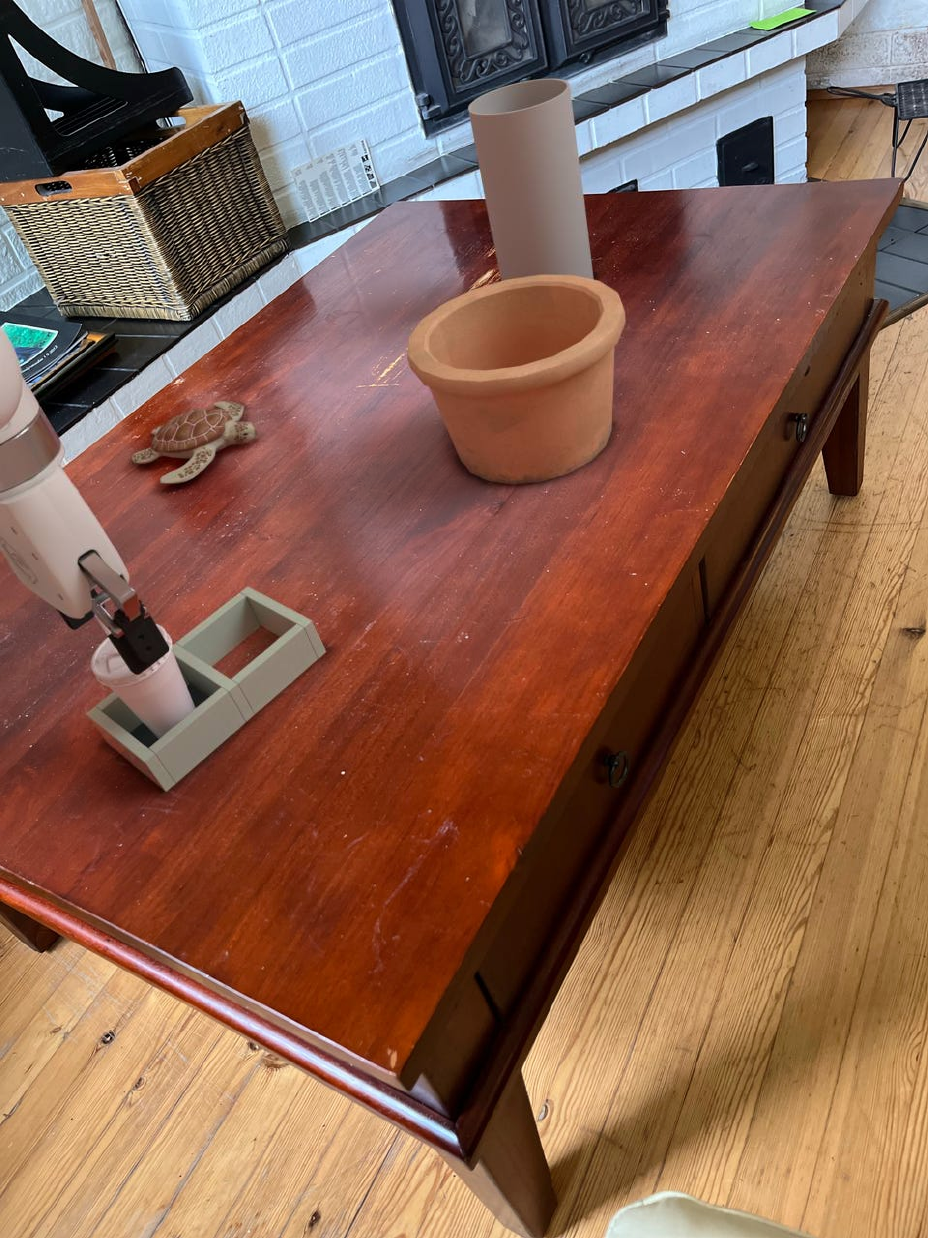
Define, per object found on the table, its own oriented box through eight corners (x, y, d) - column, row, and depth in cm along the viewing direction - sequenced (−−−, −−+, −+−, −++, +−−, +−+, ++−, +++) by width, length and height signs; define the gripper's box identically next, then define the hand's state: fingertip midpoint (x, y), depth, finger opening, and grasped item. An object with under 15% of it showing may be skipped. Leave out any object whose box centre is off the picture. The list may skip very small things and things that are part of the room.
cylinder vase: (487, 301, 130) (448, 110, 113) (554, 265, 134) (525, 75, 117) (543, 322, 121) (510, 118, 104) (613, 283, 125) (591, 81, 108)
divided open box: (170, 798, 74) (144, 762, 71) (111, 749, 80) (85, 713, 76) (329, 658, 82) (312, 620, 79) (265, 622, 88) (247, 585, 85)
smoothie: (129, 750, 78) (44, 633, 68) (172, 695, 82) (97, 577, 72) (187, 764, 75) (108, 644, 66) (229, 705, 79) (159, 585, 70)
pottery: (491, 386, 112) (467, 272, 102) (665, 399, 101) (656, 274, 92) (402, 491, 99) (365, 372, 90) (590, 518, 89) (570, 387, 79)
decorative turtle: (235, 488, 107) (218, 452, 104) (115, 495, 112) (95, 461, 109) (286, 405, 120) (272, 370, 116) (176, 415, 124) (160, 382, 121)
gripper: (-103, 453, 63) (27, 631, 74) (4, 520, 53) (137, 715, 64) (-7, 399, 66) (104, 577, 78) (112, 452, 56) (220, 648, 67)
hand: (119, 639), depth 71 cm, fingers open, 9 cm apart
